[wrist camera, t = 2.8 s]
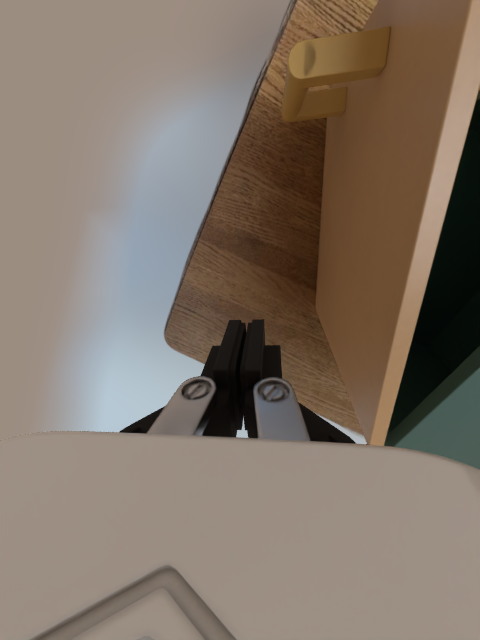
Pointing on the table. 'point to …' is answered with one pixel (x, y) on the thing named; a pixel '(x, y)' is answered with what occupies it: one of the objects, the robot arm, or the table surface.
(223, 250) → the table surface
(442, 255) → the cupboard
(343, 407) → the table surface
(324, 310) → the cupboard door
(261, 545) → the robot arm
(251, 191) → the table surface
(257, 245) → the table surface
